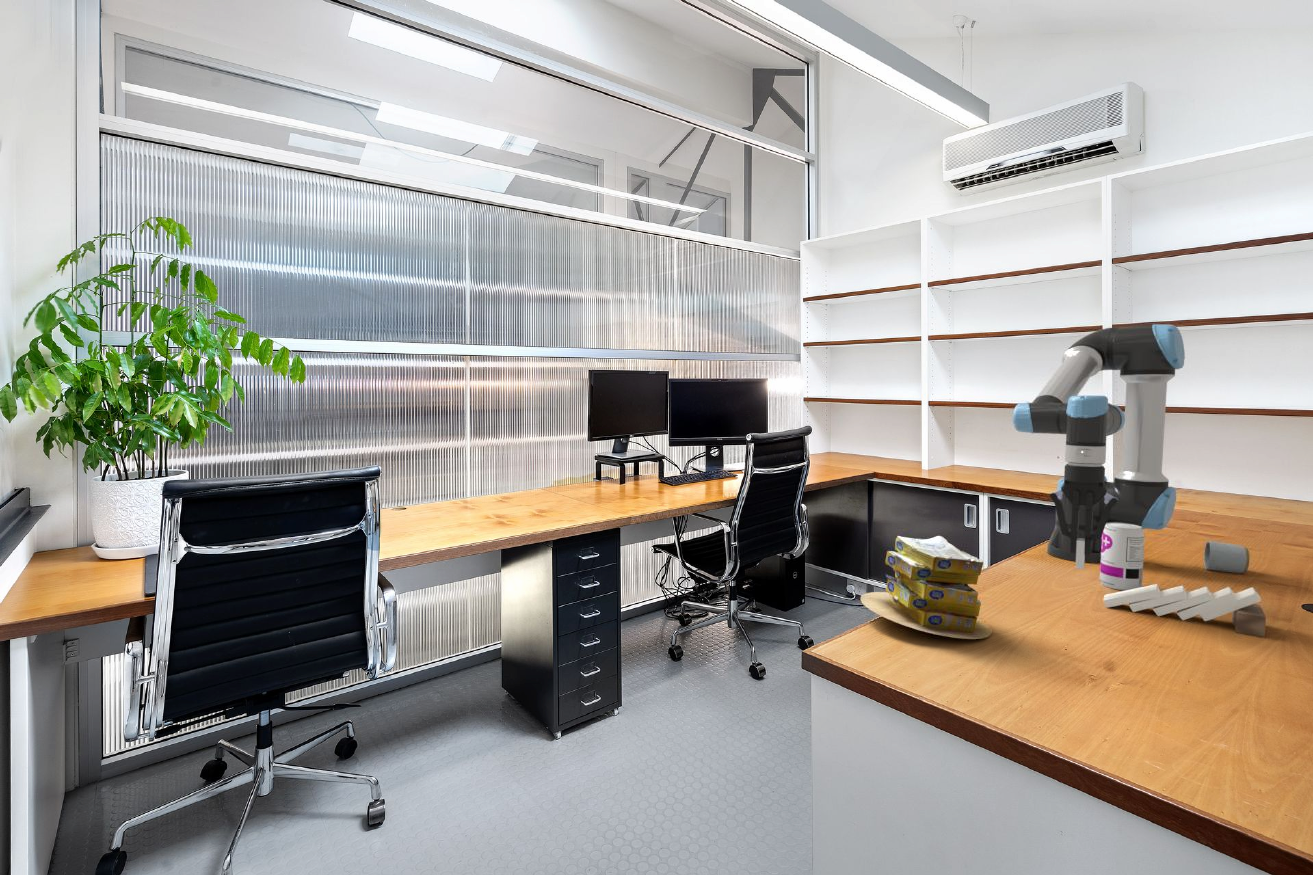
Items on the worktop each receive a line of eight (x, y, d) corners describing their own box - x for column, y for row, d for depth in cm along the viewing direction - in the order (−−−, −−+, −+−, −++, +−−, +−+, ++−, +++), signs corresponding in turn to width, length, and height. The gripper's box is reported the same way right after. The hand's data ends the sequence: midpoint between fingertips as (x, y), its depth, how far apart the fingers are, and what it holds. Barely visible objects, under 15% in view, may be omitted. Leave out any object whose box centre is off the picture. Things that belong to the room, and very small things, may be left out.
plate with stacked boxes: (964, 604, 141) (967, 530, 140) (1014, 649, 116) (1017, 559, 115) (850, 600, 144) (852, 527, 143) (875, 643, 119) (877, 555, 118)
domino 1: (1103, 600, 139) (1156, 589, 133) (1104, 594, 143) (1156, 583, 137) (1106, 607, 139) (1160, 596, 133) (1108, 601, 143) (1160, 591, 137)
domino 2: (1128, 604, 136) (1183, 591, 130) (1129, 598, 140) (1182, 585, 134) (1132, 612, 136) (1187, 598, 130) (1133, 605, 140) (1186, 592, 134)
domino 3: (1153, 609, 134) (1207, 592, 128) (1153, 603, 138) (1206, 586, 132) (1158, 616, 133) (1213, 599, 128) (1158, 610, 137) (1211, 593, 131)
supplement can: (1102, 588, 152) (1105, 527, 151) (1097, 579, 159) (1100, 520, 158) (1144, 593, 148) (1148, 530, 147) (1137, 584, 156) (1140, 524, 154)
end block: (1236, 632, 124) (1237, 612, 124) (1232, 619, 131) (1233, 600, 131) (1264, 637, 122) (1265, 616, 121) (1258, 623, 129) (1260, 604, 128)
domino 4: (1177, 613, 131) (1231, 592, 126) (1176, 607, 135) (1228, 586, 130) (1182, 620, 131) (1237, 600, 125) (1182, 613, 135) (1234, 593, 129)
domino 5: (1199, 614, 129) (1255, 593, 124) (1198, 607, 133) (1252, 587, 128) (1205, 621, 129) (1261, 600, 123) (1203, 614, 132) (1258, 594, 127)
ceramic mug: (1250, 576, 162) (1252, 547, 161) (1208, 572, 166) (1210, 543, 166) (1239, 567, 171) (1240, 539, 170) (1199, 563, 175) (1201, 536, 175)
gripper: (1048, 463, 143) (1044, 566, 145) (1120, 467, 135) (1114, 576, 137) (1052, 460, 149) (1048, 559, 150) (1121, 464, 141) (1115, 568, 143)
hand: (1079, 567), depth 144 cm, fingers closed
